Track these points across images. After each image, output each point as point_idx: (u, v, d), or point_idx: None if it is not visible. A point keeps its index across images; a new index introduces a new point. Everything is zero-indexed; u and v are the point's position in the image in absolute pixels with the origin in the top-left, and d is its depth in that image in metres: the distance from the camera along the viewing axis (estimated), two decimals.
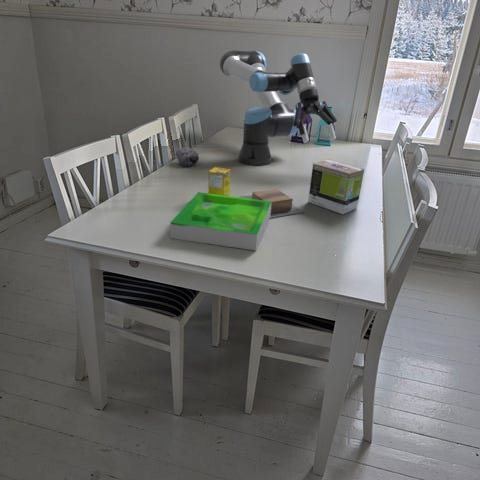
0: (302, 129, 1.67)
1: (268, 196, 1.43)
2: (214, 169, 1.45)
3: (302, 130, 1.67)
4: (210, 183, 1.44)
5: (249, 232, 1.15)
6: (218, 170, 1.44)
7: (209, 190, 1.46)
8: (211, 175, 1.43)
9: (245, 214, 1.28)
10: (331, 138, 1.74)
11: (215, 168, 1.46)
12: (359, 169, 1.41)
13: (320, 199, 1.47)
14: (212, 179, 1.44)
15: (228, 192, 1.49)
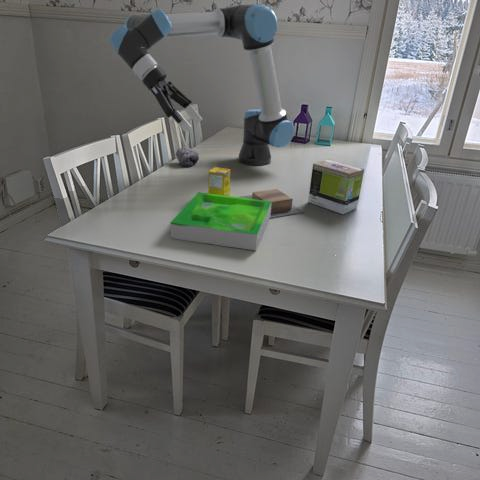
0: None
1: (268, 196, 1.43)
2: (214, 169, 1.45)
3: None
4: (210, 183, 1.44)
5: (249, 232, 1.15)
6: (218, 170, 1.44)
7: (209, 190, 1.46)
8: (211, 175, 1.43)
9: (245, 214, 1.28)
10: None
11: (215, 168, 1.46)
12: (359, 169, 1.41)
13: (320, 199, 1.47)
14: (212, 179, 1.44)
15: (228, 192, 1.49)
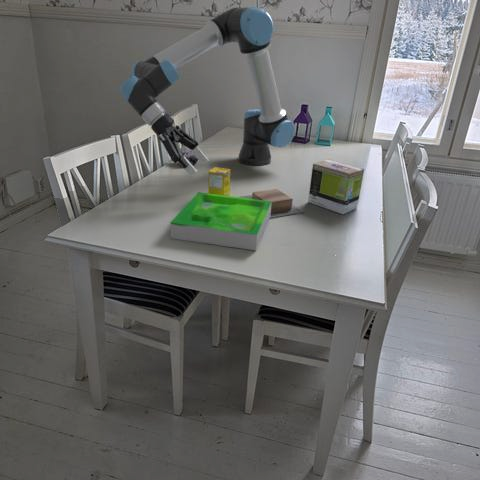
0: None
1: (268, 196, 1.43)
2: (214, 169, 1.45)
3: None
4: (210, 183, 1.44)
5: (249, 232, 1.15)
6: (218, 170, 1.44)
7: (209, 190, 1.46)
8: (211, 175, 1.43)
9: (245, 214, 1.28)
10: None
11: (215, 168, 1.46)
12: (359, 169, 1.41)
13: (320, 199, 1.47)
14: (212, 179, 1.44)
15: (228, 192, 1.49)
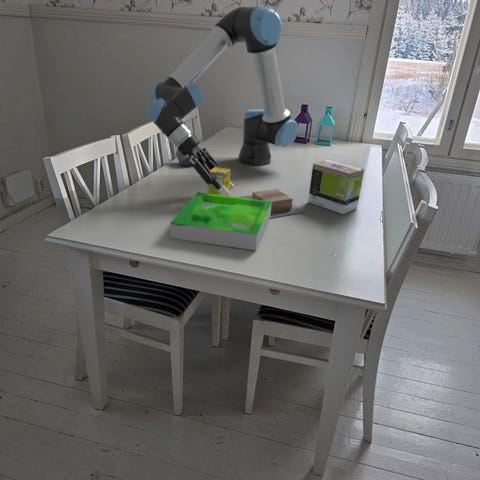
0: None
1: (268, 196, 1.43)
2: (214, 169, 1.45)
3: None
4: None
5: (249, 232, 1.15)
6: (218, 170, 1.44)
7: (209, 190, 1.46)
8: None
9: (245, 214, 1.28)
10: None
11: (215, 168, 1.46)
12: (359, 169, 1.41)
13: (320, 199, 1.47)
14: None
15: None
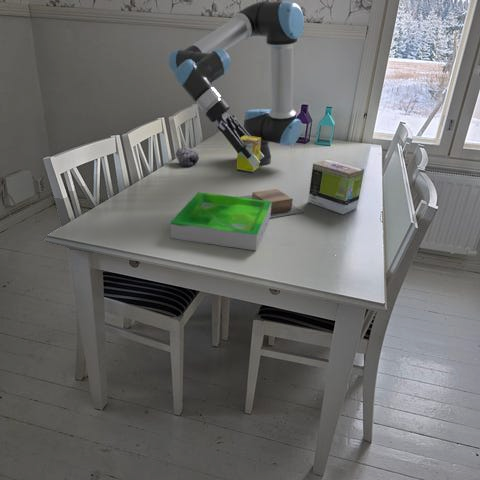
0: None
1: (268, 196, 1.43)
2: (244, 137, 1.36)
3: None
4: None
5: (249, 232, 1.15)
6: (248, 138, 1.35)
7: (238, 159, 1.37)
8: None
9: (245, 214, 1.28)
10: None
11: (245, 136, 1.37)
12: (359, 169, 1.41)
13: (320, 199, 1.47)
14: None
15: None
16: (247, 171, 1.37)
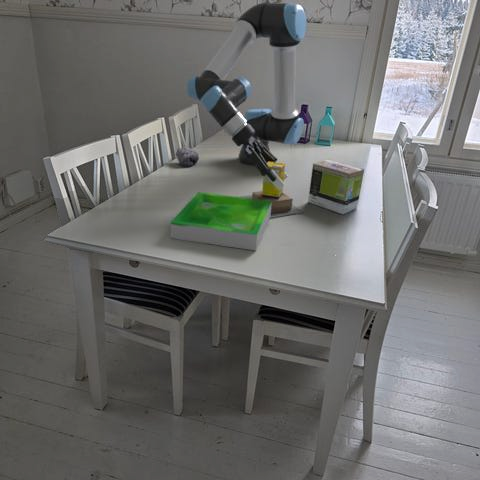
0: None
1: None
2: (269, 163, 1.39)
3: None
4: (265, 178, 1.39)
5: (249, 232, 1.15)
6: (274, 164, 1.38)
7: (263, 185, 1.40)
8: None
9: (245, 214, 1.28)
10: None
11: (269, 162, 1.40)
12: (359, 169, 1.41)
13: (320, 199, 1.47)
14: None
15: (282, 187, 1.43)
16: (273, 196, 1.40)
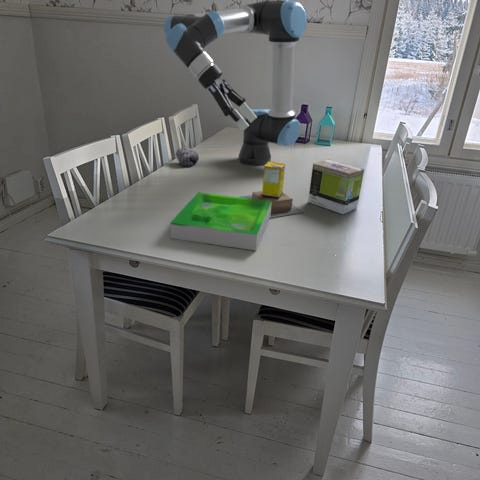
0: None
1: None
2: (269, 163, 1.39)
3: None
4: (265, 178, 1.39)
5: (249, 232, 1.15)
6: (274, 164, 1.38)
7: (264, 185, 1.40)
8: (266, 169, 1.37)
9: (245, 214, 1.28)
10: None
11: (269, 162, 1.40)
12: (359, 169, 1.41)
13: (320, 199, 1.47)
14: (267, 174, 1.38)
15: (282, 187, 1.43)
16: (273, 196, 1.40)
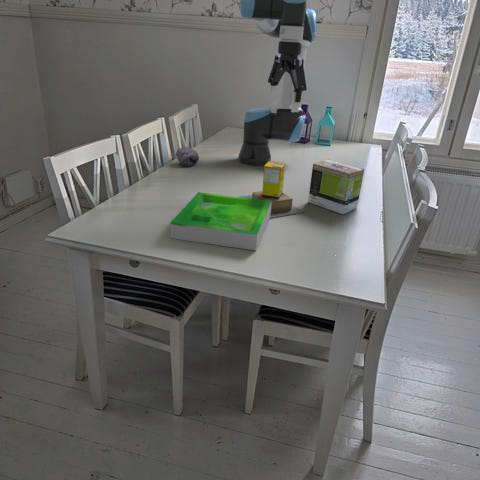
0: None
1: None
2: (269, 163, 1.39)
3: None
4: (265, 178, 1.39)
5: (249, 232, 1.15)
6: (274, 164, 1.38)
7: (264, 185, 1.40)
8: (266, 169, 1.37)
9: (245, 214, 1.28)
10: None
11: (269, 162, 1.40)
12: (359, 169, 1.41)
13: (320, 199, 1.47)
14: (267, 174, 1.38)
15: (282, 187, 1.43)
16: (273, 196, 1.40)
